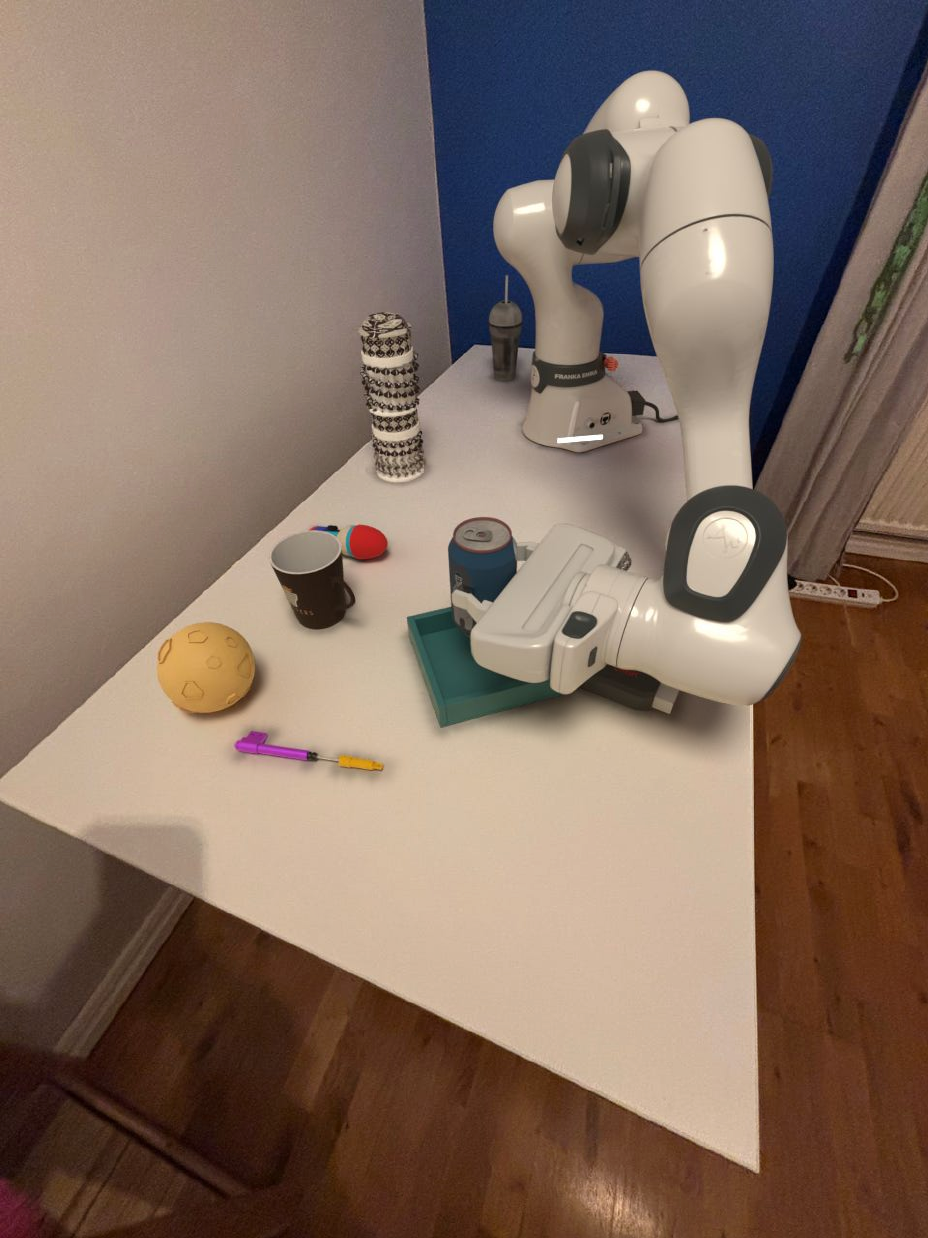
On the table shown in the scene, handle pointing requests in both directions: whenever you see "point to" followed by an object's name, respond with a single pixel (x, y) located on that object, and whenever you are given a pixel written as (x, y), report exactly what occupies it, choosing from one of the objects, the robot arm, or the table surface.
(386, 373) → the decorative candle
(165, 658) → the stress ball
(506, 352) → the beverage cup
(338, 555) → the coffee mug
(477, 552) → the soda can
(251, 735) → the purple orange rod tool
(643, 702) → the usb drive
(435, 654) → the bin
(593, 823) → the table surface
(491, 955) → the table surface
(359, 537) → the toy figure
